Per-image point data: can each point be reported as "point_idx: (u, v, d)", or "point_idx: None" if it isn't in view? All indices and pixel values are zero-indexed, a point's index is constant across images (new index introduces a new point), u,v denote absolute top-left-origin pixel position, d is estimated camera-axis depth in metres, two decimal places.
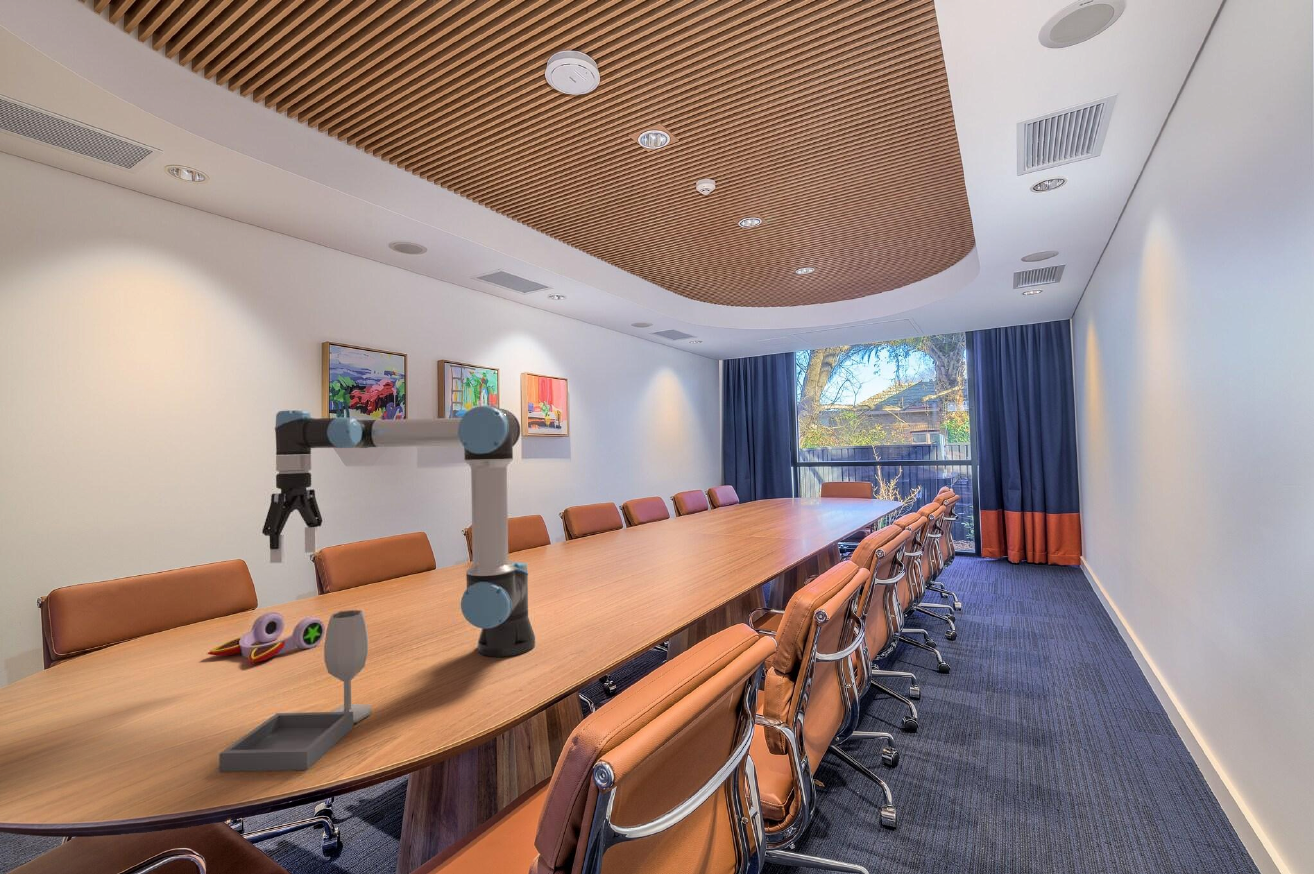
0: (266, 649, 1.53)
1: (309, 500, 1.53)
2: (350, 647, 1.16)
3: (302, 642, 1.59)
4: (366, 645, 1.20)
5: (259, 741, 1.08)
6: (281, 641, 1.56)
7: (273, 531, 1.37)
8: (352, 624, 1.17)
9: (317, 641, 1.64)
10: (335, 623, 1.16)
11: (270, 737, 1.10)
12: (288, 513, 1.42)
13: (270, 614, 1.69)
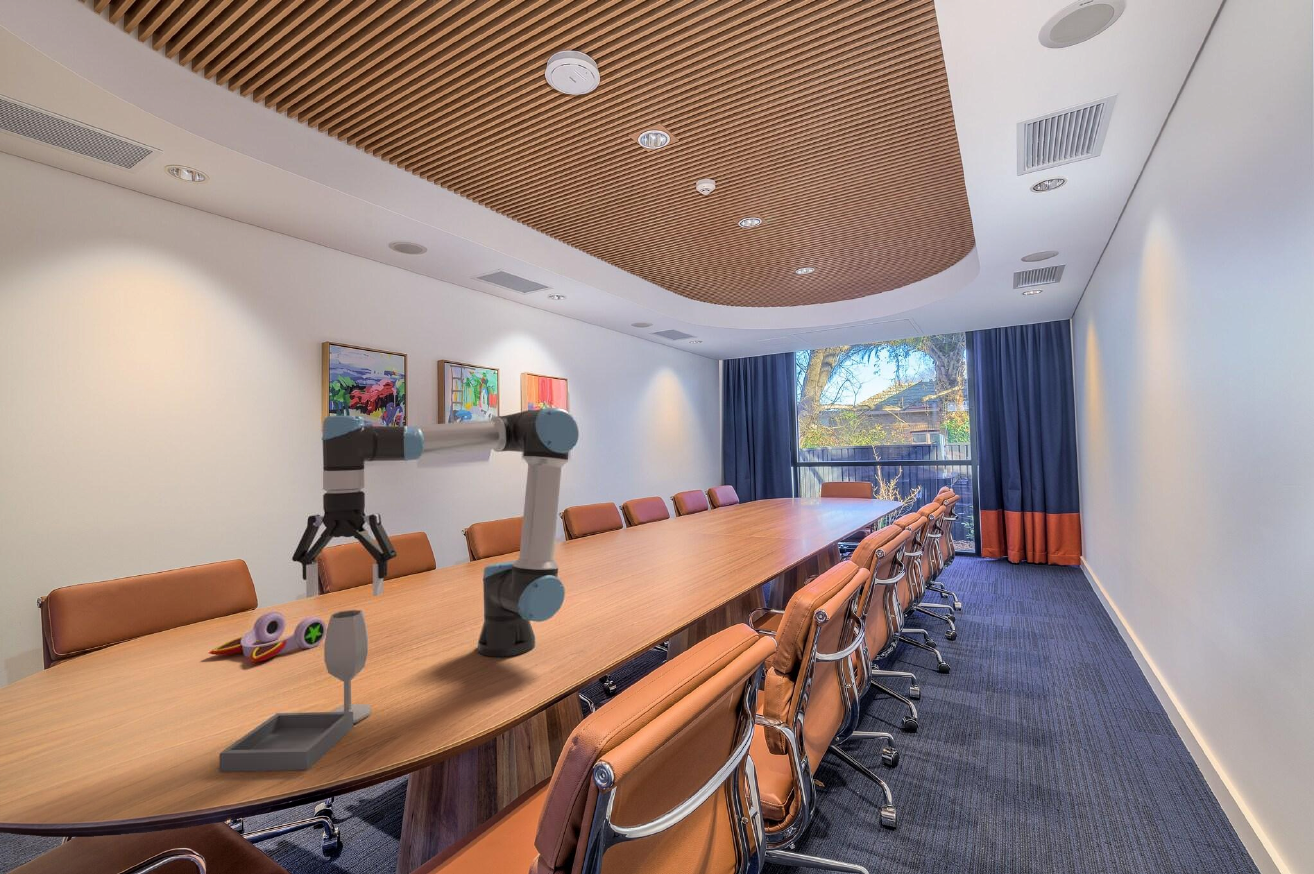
0: (267, 649, 1.53)
1: None
2: (350, 647, 1.16)
3: (303, 642, 1.60)
4: (366, 645, 1.20)
5: (259, 741, 1.08)
6: (282, 641, 1.57)
7: (293, 558, 1.19)
8: (352, 624, 1.17)
9: (318, 641, 1.64)
10: (335, 623, 1.16)
11: (270, 737, 1.10)
12: (321, 540, 1.19)
13: (271, 614, 1.69)
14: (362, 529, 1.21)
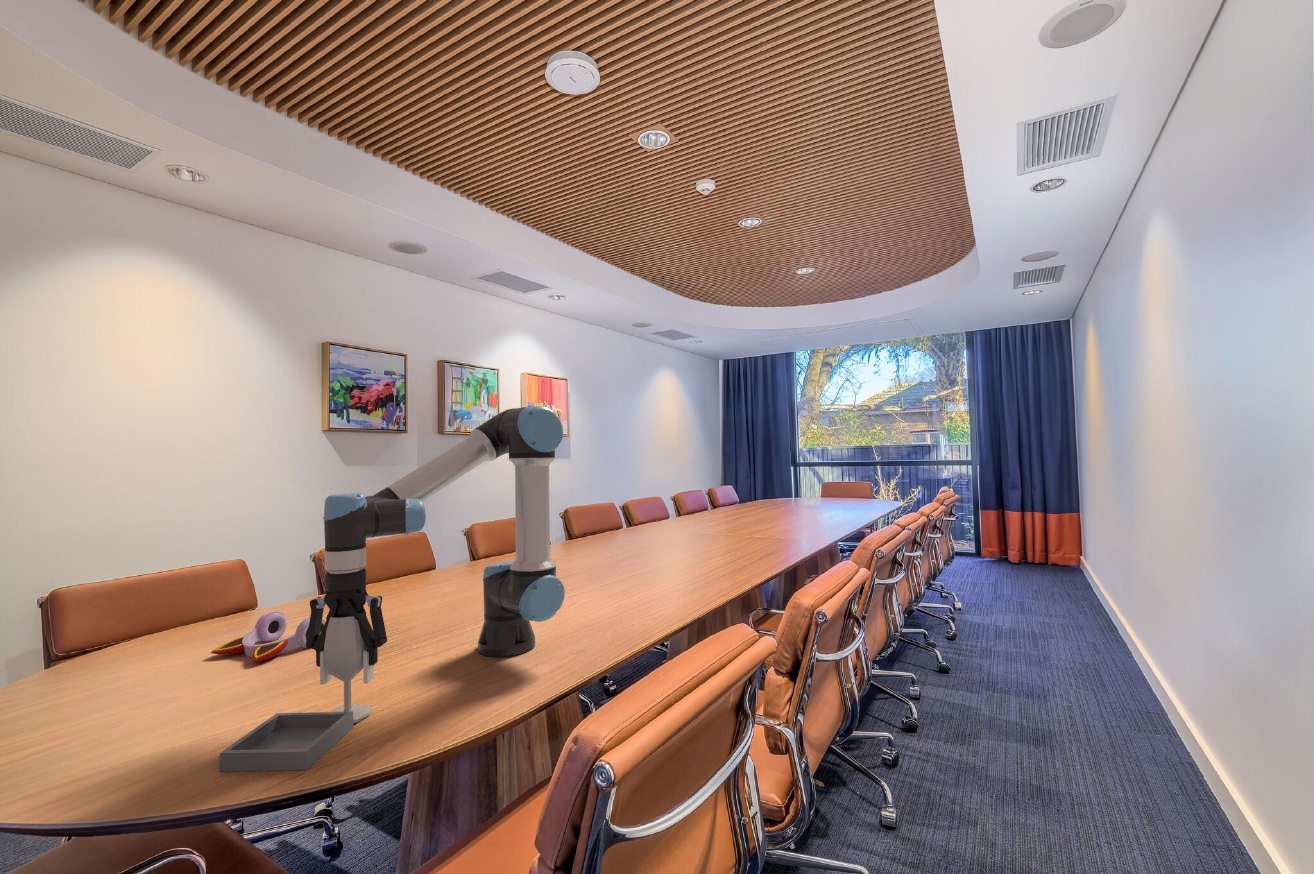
0: (269, 648, 1.54)
1: None
2: (350, 647, 1.16)
3: (305, 641, 1.60)
4: None
5: (259, 741, 1.08)
6: (284, 640, 1.57)
7: (306, 646, 1.18)
8: (352, 624, 1.17)
9: None
10: (335, 623, 1.16)
11: (270, 737, 1.10)
12: (328, 623, 1.18)
13: (273, 613, 1.69)
14: (361, 609, 1.21)
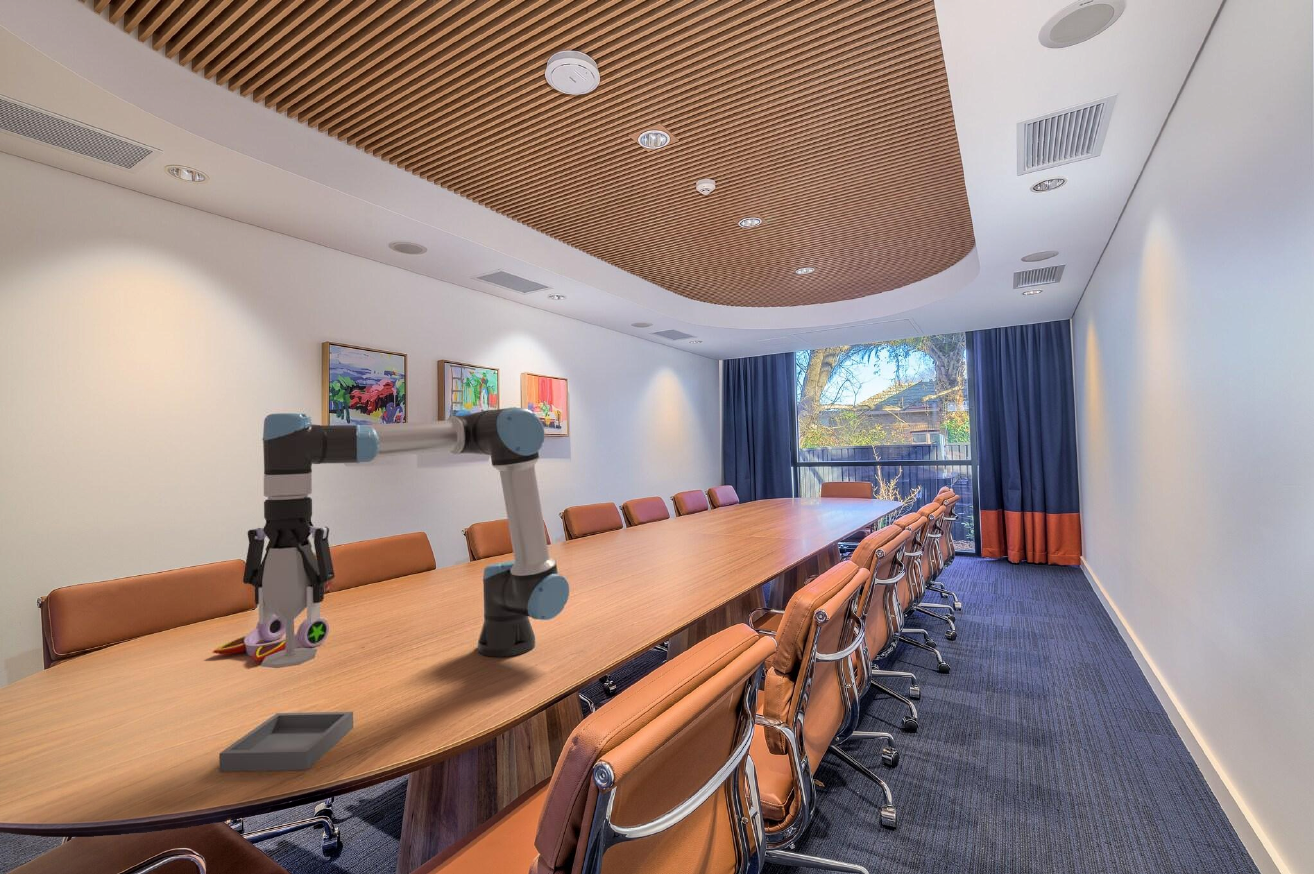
0: (271, 648, 1.54)
1: None
2: (291, 581, 1.05)
3: (306, 641, 1.60)
4: None
5: (259, 741, 1.08)
6: None
7: (244, 581, 1.07)
8: (294, 556, 1.05)
9: (321, 640, 1.65)
10: (275, 555, 1.05)
11: (270, 737, 1.10)
12: None
13: None
14: (306, 542, 1.09)
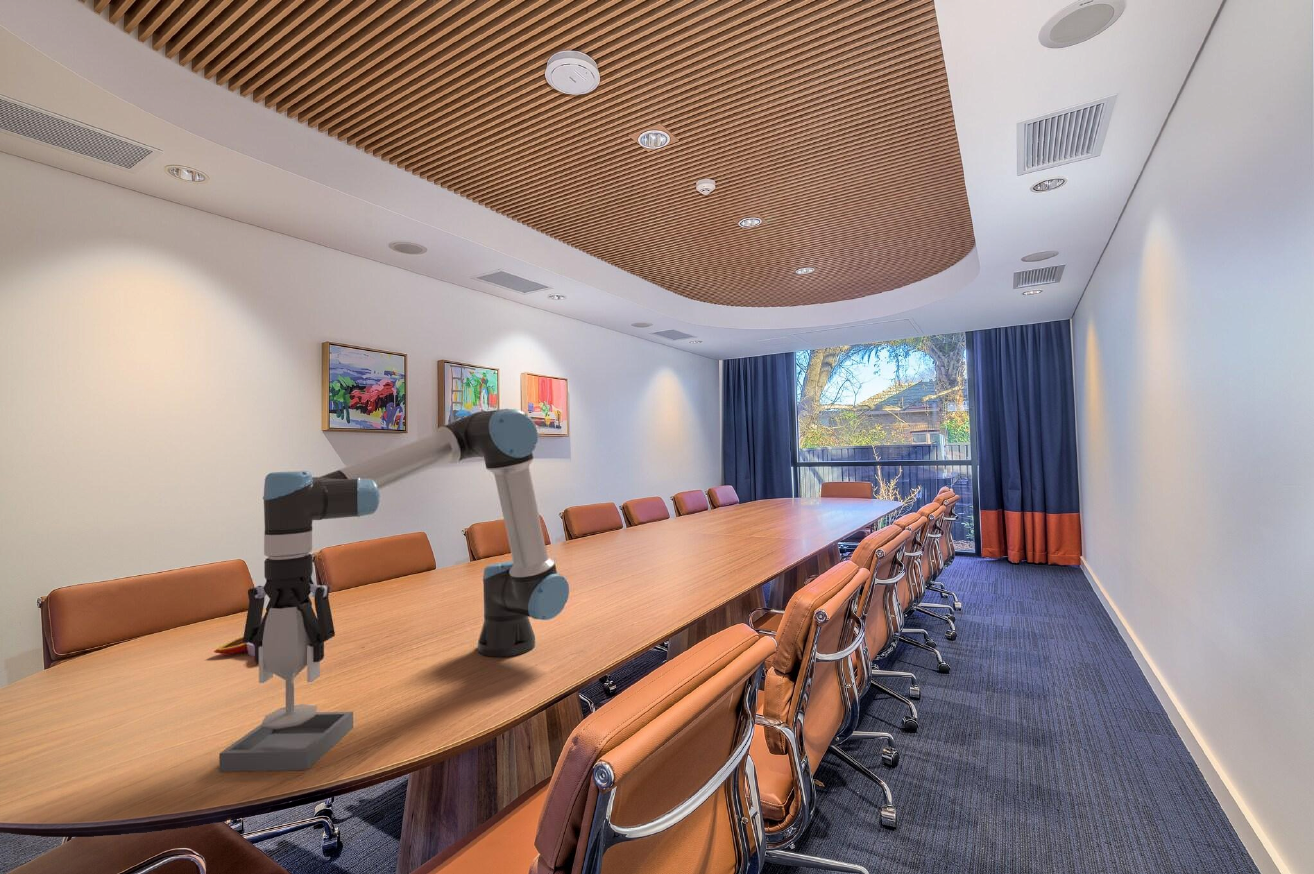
0: None
1: None
2: (291, 641, 1.04)
3: None
4: None
5: (259, 741, 1.08)
6: None
7: (244, 640, 1.06)
8: (294, 616, 1.05)
9: None
10: (275, 615, 1.05)
11: (270, 737, 1.10)
12: None
13: None
14: (306, 599, 1.09)
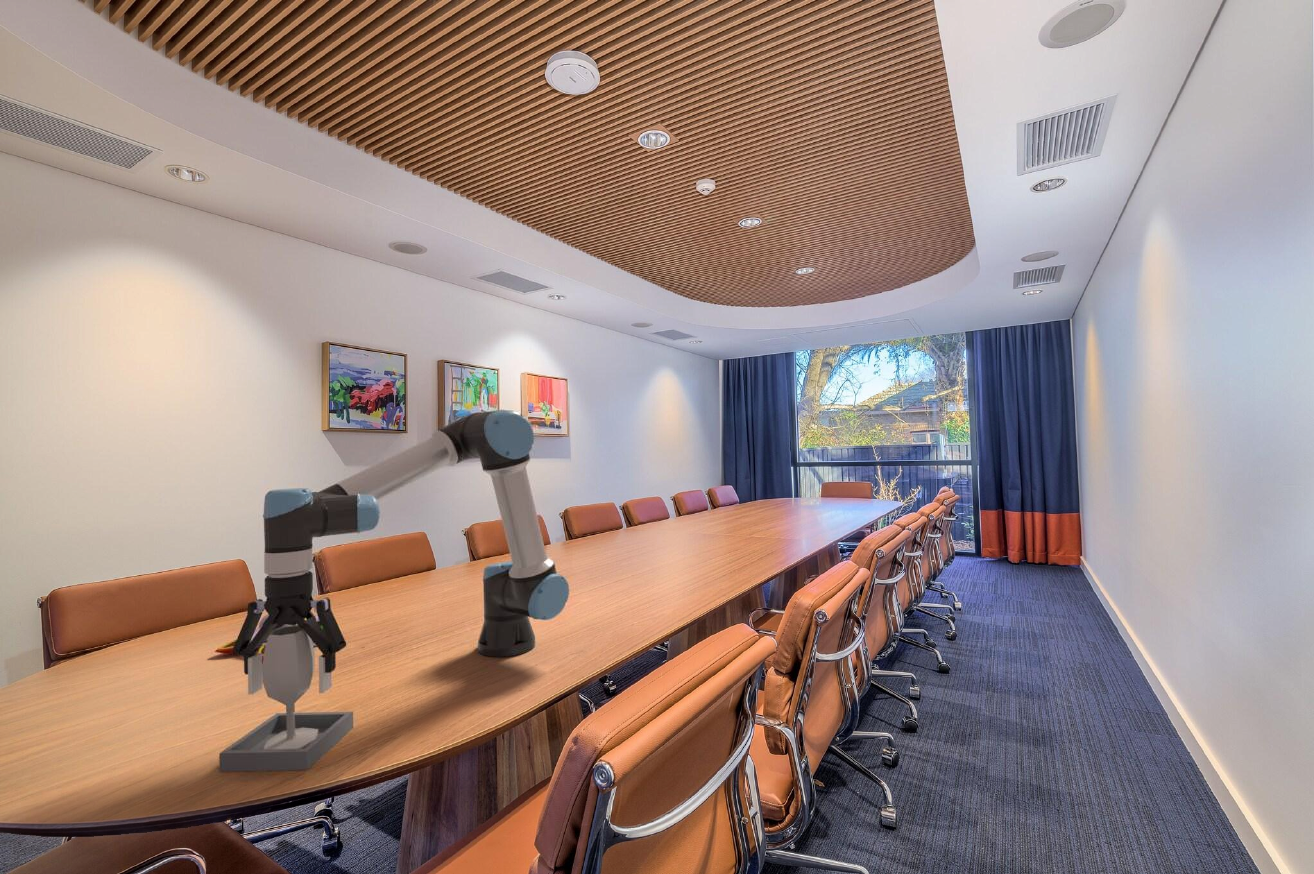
0: None
1: None
2: (291, 668, 1.04)
3: None
4: (311, 664, 1.07)
5: (259, 741, 1.08)
6: None
7: (233, 651, 1.06)
8: (294, 642, 1.05)
9: None
10: (274, 641, 1.04)
11: (270, 737, 1.10)
12: (263, 630, 1.06)
13: None
14: (309, 615, 1.09)
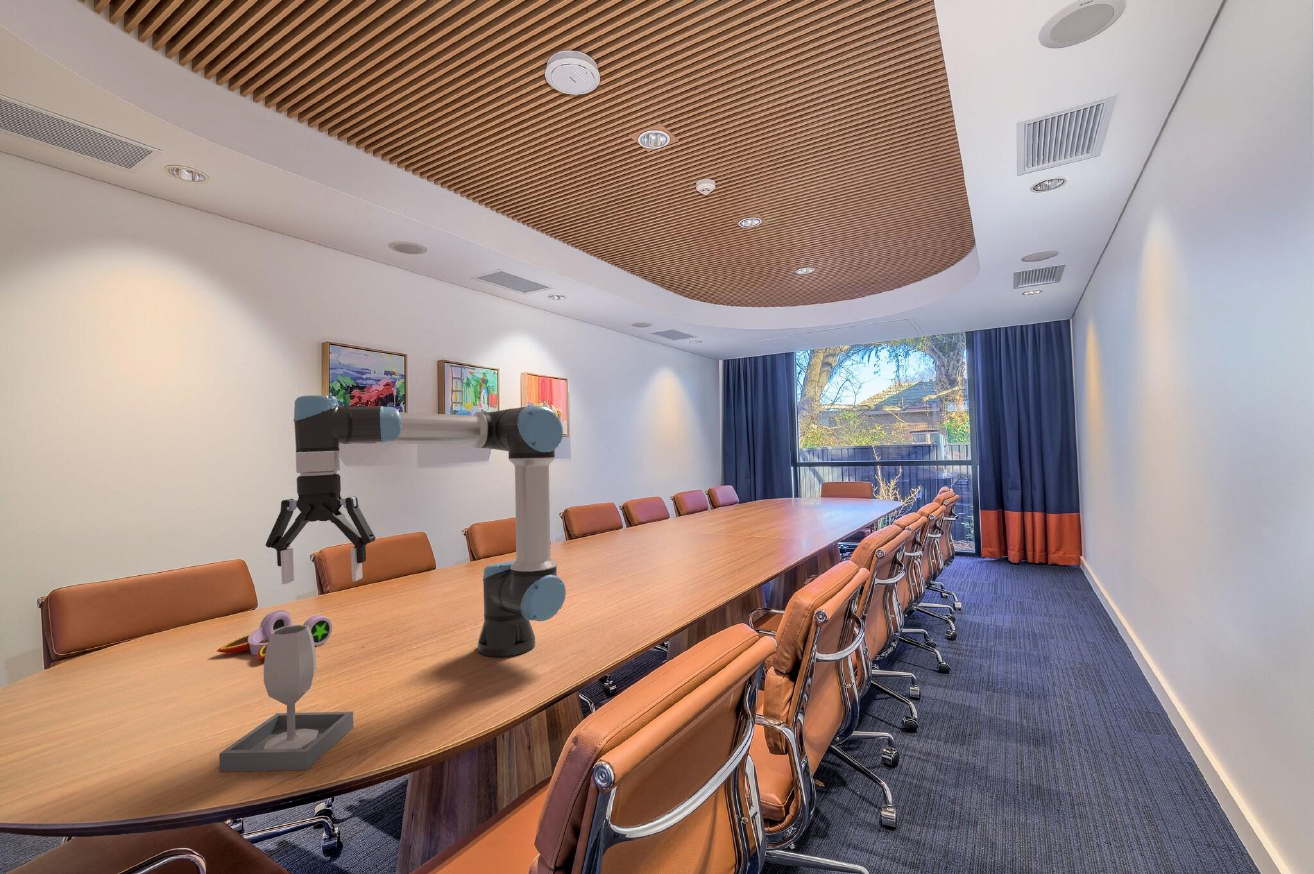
0: None
1: None
2: (293, 667, 1.04)
3: None
4: (312, 664, 1.08)
5: (259, 741, 1.08)
6: None
7: (266, 544, 1.14)
8: (295, 641, 1.05)
9: (324, 639, 1.65)
10: (276, 641, 1.05)
11: (270, 737, 1.10)
12: (295, 525, 1.15)
13: (278, 612, 1.70)
14: (339, 513, 1.17)
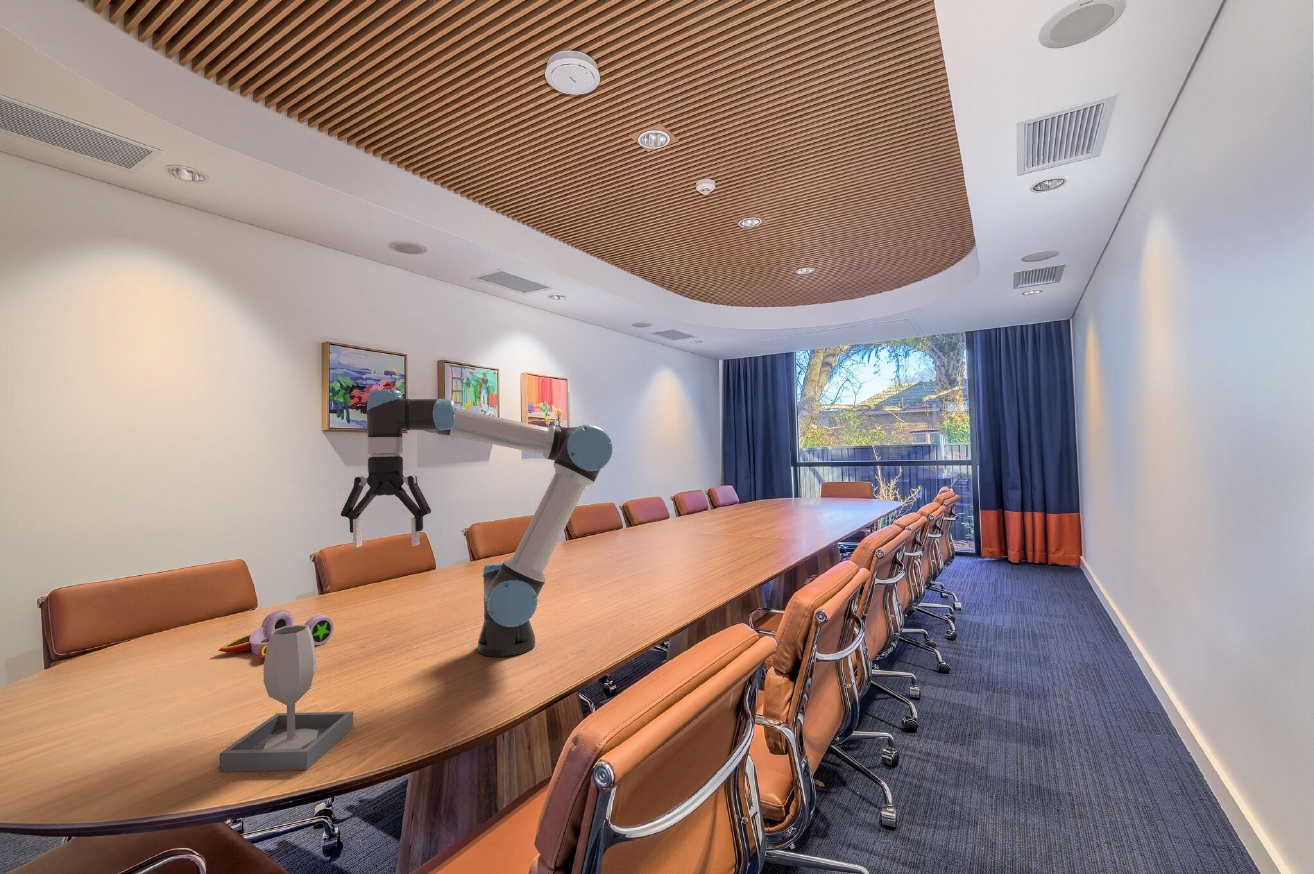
0: None
1: None
2: (293, 667, 1.04)
3: None
4: (312, 664, 1.08)
5: (259, 741, 1.08)
6: None
7: (341, 514, 1.37)
8: (295, 641, 1.05)
9: (326, 638, 1.66)
10: (276, 641, 1.05)
11: (270, 737, 1.10)
12: (365, 498, 1.37)
13: (279, 612, 1.71)
14: (401, 489, 1.39)
